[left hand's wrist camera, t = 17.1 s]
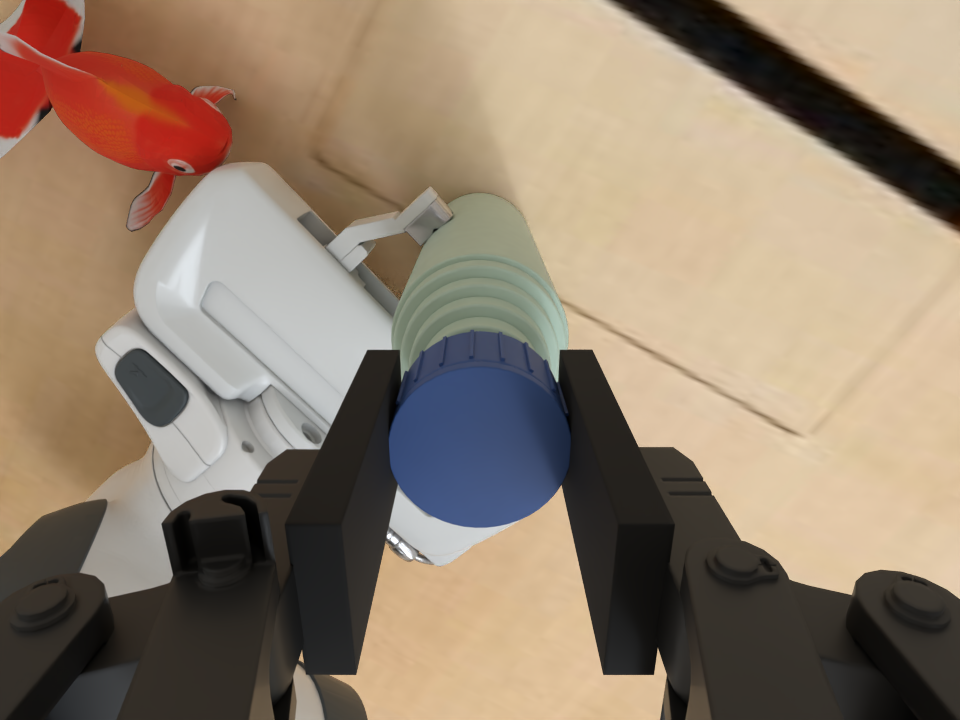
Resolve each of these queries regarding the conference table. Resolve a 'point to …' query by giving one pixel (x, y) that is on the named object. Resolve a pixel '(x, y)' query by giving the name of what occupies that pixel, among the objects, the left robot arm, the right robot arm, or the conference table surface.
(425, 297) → the bottle
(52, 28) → the fish
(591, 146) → the conference table surface
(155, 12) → the conference table surface
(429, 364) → the cap
